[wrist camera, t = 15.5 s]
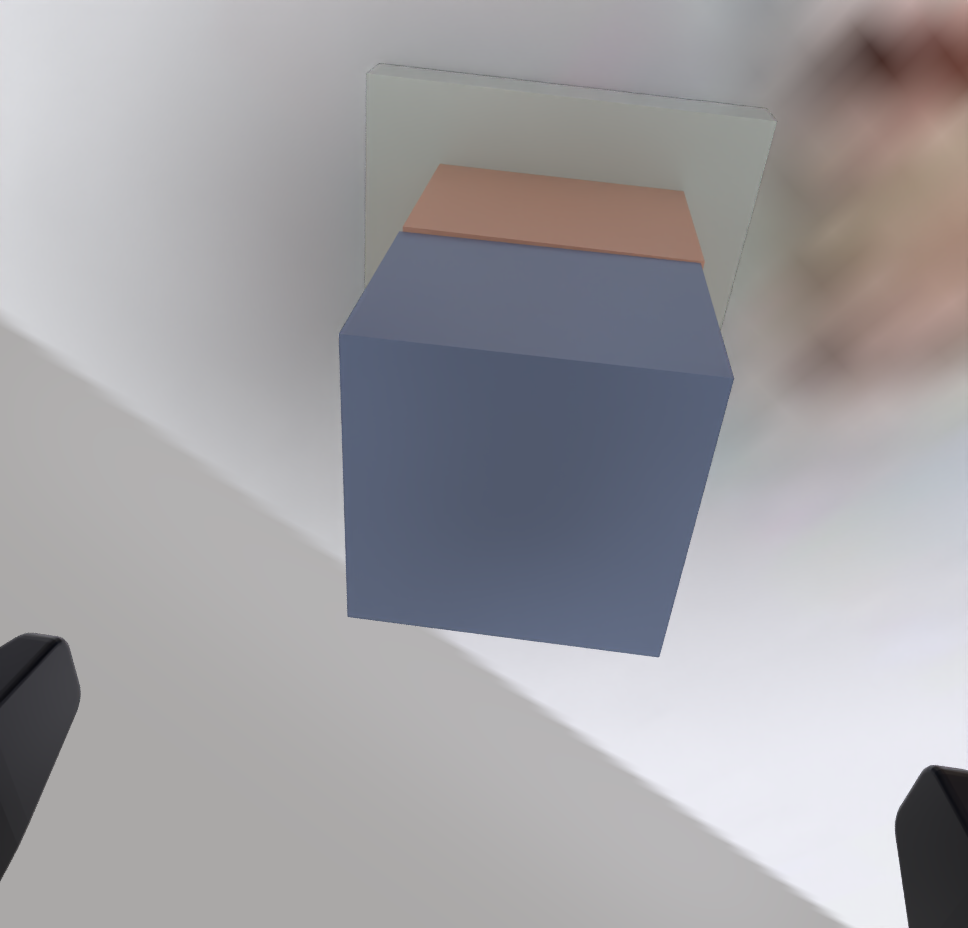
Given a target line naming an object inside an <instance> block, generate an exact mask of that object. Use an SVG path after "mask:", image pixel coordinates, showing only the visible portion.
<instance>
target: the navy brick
mask: <svg viewBox="0 0 968 928" xmlns="http://www.w3.org/2000/svg"><path fill="white" fill-rule="evenodd" d="M339 355H340V387H341V420H342V452H343V484H344V517H345V549H346V581H347V613H348V617H353V618H360V619H368V620H375V621H383V622H392V623H399V624H406V625H414V626H422V627H429V628H437V629H445V630H452V631H460V632H468V633H476V634H483V635H491V636H499V637H506V638H514V639H522V640H529V641H537V642H545V643H552V644H560V645H568V646H576V647H583V648H591V649H599V650H606V651H614V652H622V653H629V654H637V655H645V656H652V657H659V656H660V652H661V649H662V645H663V641H664V637H665V634H666V630H667V626H668V623H669V619H670V615H671V611H672V608H673V604H674V600H675V596H676V593H677V589H678V585H679V581H680V578H681V574H682V570H683V567H684V563H685V559H686V555H687V552H688V548H689V544H690V540H691V537H692V533H693V529H694V526H695V522H696V518H697V514H698V511H699V507H700V503H701V499H702V496H703V492H704V488H705V485H706V481H707V477H708V473H709V470H710V466H711V462H712V458H713V455H714V451H715V447H716V444H717V440H718V436H719V432H720V429H721V425H722V421H723V417H724V414H725V410H726V406H727V402H728V399H729V395H730V391H731V388H732V384H733V380H734V376H733V373H732V370H731V366H730V363H729V359H728V356H727V352H726V349H725V345H724V342H723V338H722V335H721V331H720V328H719V324H718V321H717V318H716V314H715V311H714V307H713V304H712V300H711V297H710V293H709V290H708V286H707V283H706V279H705V276H704V272H703V269H702V266H701V263H695V262H686V261H676V260H667V259H657V258H648V257H638V256H629V255H619V254H610V253H600V252H591V251H581V250H572V249H562V248H553V247H543V246H534V245H524V244H515V243H506V242H496V241H487V240H477V239H468V238H458V237H449V236H439V235H430V234H420V233H411V232H401V231H399V233H398V234H397V236H396V238H395V239H394V241H393V243H392V244H391V246H390V248H389V249H388V251H387V253H386V255H385V256H384V258H383V260H382V261H381V263H380V265H379V266H378V268H377V270H376V272H375V273H374V275H373V277H372V278H371V280H370V282H369V283H368V285H367V287H366V289H365V290H364V292H363V294H362V295H361V297H360V299H359V300H358V302H357V304H356V306H355V307H354V309H353V311H352V312H351V314H350V316H349V317H348V319H347V321H346V323H345V324H344V326H343V328H342V329H341V331H340V333H339Z"/></svg>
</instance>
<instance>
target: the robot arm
mask: <svg viewBox="0 0 968 928" xmlns="http://www.w3.org/2000/svg"><path fill="white" fill-rule="evenodd" d="M79 702H80V685H79V681H78V677H77V674H76V670H75V666H74V663H73V659H72V655H71V651H70V648H69V645H68V643H67V642H66V641H65V640H64V639H63V638H61V637H58V636H51V635H45V634H38V633H26V634H23V635H20V636H18V637H16V638H14V639H12V640H11V641H9V642H7V643H6V644H4V645H3V646H1V647H0V881H1V879H2V877H3V875H4V873H5V871H6V870H7V868H8V866H9V864H10V862H11V860H12V858H13V856H14V854H15V853H16V851H17V849H18V847H19V845H20V843H21V840H22V838H23V836H24V834H25V832H26V829H27V827H28V825H29V823H30V820H31V818H32V816H33V813H34V811H35V809H36V806H37V804H38V802H39V799H40V797H41V795H42V792H43V790H44V787H45V785H46V783H47V780H48V778H49V776H50V773H51V771H52V769H53V766H54V764H55V762H56V759H57V757H58V755H59V752H60V750H61V748H62V745H63V743H64V741H65V738H66V736H67V733H68V731H69V729H70V726H71V724H72V722H73V719H74V717H75V715H76V712H77V710H78V706H79ZM895 836H896V843H897V850H898V857H899V863H900V870H901V877H902V884H903V891H904V898H905V905H906V912H907V919H908V926H909V928H968V770H964V769H959V768H952V767H945V766H939V765H930V766H929V767H927V768H925V769H924V770H923V771H922V772H921V774H920V775H919V777H918V779H917V780H916V782H915V783H914V785H913V787H912V788H911V790H910V792H909V793H908V795H907V796H906V798H905V800H904V801H903V803H902V804H901V806H900V808H899V810H898V812H897V816H896V821H895Z"/></svg>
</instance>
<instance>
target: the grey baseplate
mask: <svg viewBox="0 0 968 928" xmlns="http://www.w3.org/2000/svg"><path fill="white" fill-rule="evenodd" d="M776 124H777V121H776V119H775V118H774V117H773V116H772V114H771V113H770V112H769V111H768V109H767V108H758V107H750V106H741V105H732V104H724V103H715V102H707V101H698V100H689V99H681V98H672V97H664V96H655V95H646V94H638V93H629V92H621V91H612V90H603V89H595V88H586V87H577V86H569V85H560V84H552V83H543V82H534V81H526V80H517V79H509V78H500V77H491V76H483V75H474V74H466V73H457V72H448V71H440V70H431V69H423V68H414V67H405V66H397V65H388V64H380V63H379V64H378V65H377V66H375V67H374V68H373V69H371V70H370V71H369V72H368V73H366V171H365V289H366V287H367V285H368V283H369V282H370V280H371V278H372V277H373V275H374V273H375V272H376V270H377V268H378V266H379V265H380V263H381V261H382V260H383V258H384V256H385V255H386V253H387V251H388V249H389V248H390V246H391V244H392V243H393V241H394V239H395V238H396V236H397V234H398V233H399V231H401V232H403V225H404V224H405V222H406V220H407V218H408V217H409V215H410V213H411V212H412V210H413V208H414V207H415V205H416V203H417V201H418V200H419V198H420V196H421V195H422V193H423V191H424V189H425V188H426V186H427V184H428V183H429V181H430V179H431V178H432V176H433V174H434V172H435V171H436V169H437V167H438V166H439V164H446V165H455V166H464V167H473V168H482V169H491V170H500V171H509V172H517V173H526V174H535V175H544V176H553V177H562V178H571V179H580V180H589V181H597V182H606V183H615V184H624V185H633V186H642V187H651V188H660V189H668V190H677V191H684V194H685V197H686V201H687V204H688V207H689V211H690V214H691V217H692V221H693V224H694V227H695V231H696V234H697V237H698V240H699V244H700V247H701V250H702V254H703V257H704V260H705V263H704V267H703V272H704V276H705V279H706V283H707V286H708V290H709V293H710V297H711V300H712V304H713V307H714V311H715V314H716V318H717V321H718V324H719V328H720V331H721V327H722V324H723V320H724V316H725V312H726V309H727V305H728V301H729V298H730V294H731V290H732V287H733V283H734V279H735V276H736V272H737V268H738V264H739V261H740V257H741V253H742V250H743V246H744V242H745V239H746V235H747V231H748V227H749V224H750V220H751V216H752V213H753V209H754V205H755V202H756V198H757V194H758V190H759V187H760V183H761V179H762V176H763V172H764V168H765V165H766V161H767V157H768V153H769V150H770V146H771V142H772V139H773V135H774V131H775V128H776Z"/></svg>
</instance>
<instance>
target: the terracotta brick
mask: <svg viewBox="0 0 968 928" xmlns="http://www.w3.org/2000/svg"><path fill="white" fill-rule="evenodd" d="M403 232H411V233H420V234H430V235H439V236H449V237H458V238H468V239H477V240H487V241H496V242H506V243H515V244H524V245H534V246H543V247H553V248H562V249H572V250H581V251H591V252H600V253H610V254H619V255H629V256H638V257H648V258H657V259H667V260H676V261H686V262H695V263H701V266H702V269H703V267H704V263H705V260H704V257H703V254H702V250H701V247H700V244H699V240H698V237H697V234H696V231H695V227H694V224H693V221H692V217H691V214H690V211H689V207H688V204H687V201H686V197H685V194H684V191H677V190H668V189H660V188H651V187H642V186H633V185H624V184H615V183H606V182H597V181H589V180H580V179H571V178H562V177H553V176H544V175H535V174H526V173H517V172H509V171H500V170H491V169H482V168H473V167H464V166H455V165H446V164H439V166H438V167H437V169H436V171H435V172H434V174H433V176H432V178H431V179H430V181H429V183H428V184H427V186H426V188H425V189H424V191H423V193H422V195H421V196H420V198H419V200H418V201H417V203H416V205H415V207H414V208H413V210H412V212H411V213H410V215H409V217H408V218H407V220H406V222H405V224H404V225H403Z"/></svg>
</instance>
